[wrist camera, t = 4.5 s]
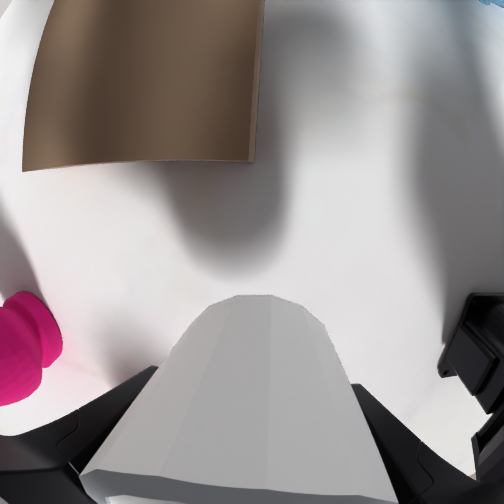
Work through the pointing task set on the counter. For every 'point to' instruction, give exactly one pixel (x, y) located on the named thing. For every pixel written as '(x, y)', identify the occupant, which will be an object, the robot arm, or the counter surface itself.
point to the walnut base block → (145, 83)
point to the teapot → (500, 0)
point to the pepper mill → (25, 346)
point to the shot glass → (244, 419)
